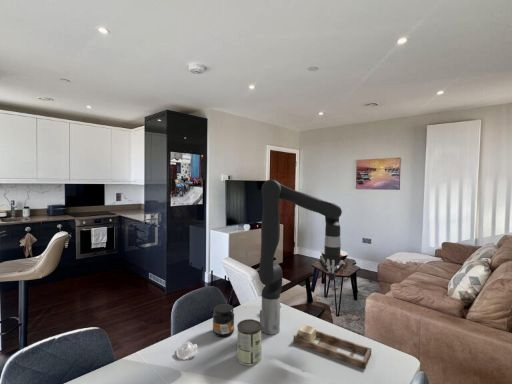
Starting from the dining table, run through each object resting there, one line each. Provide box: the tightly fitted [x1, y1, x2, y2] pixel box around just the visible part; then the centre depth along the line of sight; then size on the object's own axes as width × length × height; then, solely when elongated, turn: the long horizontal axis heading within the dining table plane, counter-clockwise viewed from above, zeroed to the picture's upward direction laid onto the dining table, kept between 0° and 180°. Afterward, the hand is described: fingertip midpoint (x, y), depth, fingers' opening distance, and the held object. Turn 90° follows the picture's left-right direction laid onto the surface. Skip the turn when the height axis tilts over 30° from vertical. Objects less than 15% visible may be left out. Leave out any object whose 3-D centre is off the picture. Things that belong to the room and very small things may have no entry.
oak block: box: [298, 324, 317, 343], centre depth 127 cm, size 6×6×5 cm
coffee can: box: [236, 318, 262, 367], centre depth 116 cm, size 10×10×14 cm
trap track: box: [292, 329, 372, 370], centre depth 121 cm, size 31×11×5 cm, turn 56°
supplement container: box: [212, 303, 235, 338], centre depth 136 cm, size 10×10×12 cm
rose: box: [175, 341, 198, 361], centre depth 119 cm, size 10×4×10 cm
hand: (331, 280), depth 134 cm, fingers closed
